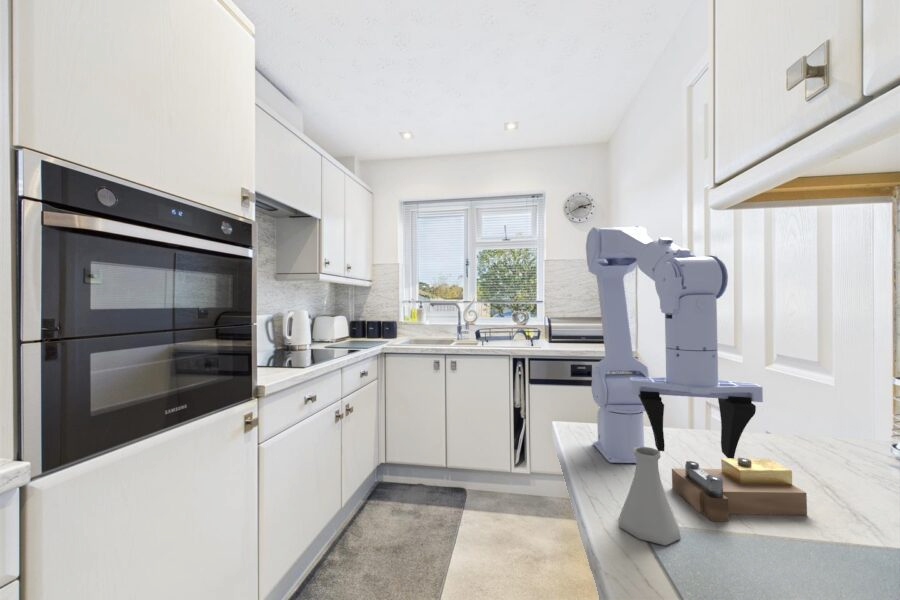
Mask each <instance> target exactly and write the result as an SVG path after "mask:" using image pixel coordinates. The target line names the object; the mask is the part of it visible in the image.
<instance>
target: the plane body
mask: <svg viewBox="0 0 900 600" xmlns="http://www.w3.org/2000/svg"><path fill="white" fill-rule="evenodd" d="M701 469H702V470H703V471H705V472H706V473H708V474H709V475H715V476H719V477H721V478H722V479H723V497H722V498H717V497H713V496H710V495H709V494H707V492H706V491H705V490H704V489H703V488H701V487H700V486H699V485H698V484H696V483H695V482H694V481H693V480H691V479H690V478H688V477H687V476H686V473H685V468H671V487H672V489H673V490H674V491H675V492H676V493H677V494H678V495H679V496H680V497H682V498H683V499H684V500H685V501H686V502H687V503H688V504H689V505H690V506H692V508H694V510H696V511H697V512H698V513H699V514H703V515H704V516H705V517H706V518H707V519H709V520H710V521H711V522H729V521H730V520H729V519H730V517H729V515H735V514H736V515H778V516H779V515H780V516H781V515H782V516H783V515H786V516H787V515H790V516H791V515H792V516H794V515H795V516H798V515H799V516H802V515H803V516H808V503H807V502H808V499H807V498H808V497H807V492H806V491H804V490H802V489H800V488H799V487H797V486H795V485H793V484H792V485H769V484H740V483H738V482H737V481H735V480H734V479H732V478H731V477H729V476H728V475H726V474H725V473H723V472H722V468H701Z"/></svg>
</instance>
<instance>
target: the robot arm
mask: <svg viewBox="0 0 900 600" xmlns="http://www.w3.org/2000/svg"><path fill="white" fill-rule="evenodd" d="M586 236H587V237H586V242H585V253H586V263H587V266H588V272H589V273H590V274H592V275H594V276H596V281H597V282H596V283H597V289H598V297H599V299H598V300H599V309H600V317H601V326H602V335H603V336H602V337H603V345H604V354H605V356H604V357H603V358H602V359H601V360H599V362H597V363H596V364H595V365H593V367H592V370H591V371H592V372H591V375H592V380H591V394H592V398H593V401H594V403H595V404H596V405H597V406H598V407H599V408H598V411H597V416H596V417H597V418H596V419H597V440H596V441H595V440H594V441H593V442H592V444H593V445H594V446H595V447H596V448H597V450H598V451H599V453H601V455H602V456H603V457H604V458H605V459H606V460H607V462H608V463H610V464H611V463H612V464H614V463H615V464H636V456H634V448H635V447H639V446H643V447H645V425H644V423H645V422H644V420H645V419H644V412H646V415H647V418H648V421H649V422H650V425H651V426H650V427H651V429H652V433H653V438H654V444H655V447H656V450H658V451H660V452H665V435H664V412H665V404H664V403H663V399H662V397H661V396H672V397H673V396H675V397H677V396H678V397H689V398H691V397H692V398H693V397H694V398H706V399H707V398H708V399H710V398H711V399H717V400H718V401H717V402H718V408H719V414H720V424H721V427H720V428H721V429H720V447H721V453H722V454H723V455H724V456H725V457H726V458H731V459H734V458H735V454H736V452H737V451H736V450H737V448H738V444H739V441H740V438H741V436H742V434H743V432H744V430H745V428H746V427H747V425H748V424H749V422H750V420H751V419H752V418H753V417H754V416H755V414H756V410H757V406H756V405H755V404H754V403H763V402H764V401H763V400H764V398H763V397H764V396H763V395H764V394H763V393H764V391H763V386H761V385H759V384H757V383H755V382H740V381H730V380H721V379H720V380H719V362H718V361H719V359H718V358H719V355H718V347H719V345H718V310H717V309H718V308H717V304H718V303H717V300H718V299H720V298H721V297H722V296H723V295H724V293H725V292H726V291H727V287H728V282H729V275H728V274H729V273H728V269H727V267H726V264H725V263H724V262H723V261H722V260H721V259H720V258H719V257H718V256H717V255H715V254H714V255H712V254H711V255H705V256H696V255H695V254H693V253H692V251H691V250H690V249H688V248H686V247H685V248H684V247H683V248H681V247H680V246H678V245H676V244H675V243H673V242H674V239H672V238H670V237H659V238H658V239H654V240H653V239H652V238H650V237H649V236H648V234H647V229H646V227H642V226H641V225H635V226H627V227H626V226H623V227H622V226H621V227H618V226H617V227H596V226H594V227H592V228H591V229H590V230H589V231H588V233H587V235H586ZM637 267H638V269H639V270H640V271H641V272H642V273H643V274H644V275H646V276H647V277H649V279H651V280H652V281H654V287H655V290H656V294H657V296H658V298H659V309H660V312H661V313H662V314H664V336H665V338H664V340H665V341H664V342H665V377H664V376H663V377H661V376H659V377H650V373H649V369H648V366H647V365H646V364H644V363H643V362H642V361H640V360H639V359H638V358H636V357H635V356H634V353H633V347H632V337H631V329H630V321H629V313H628V306H627V297H626V290H625V289H626V288H625V281H624V280H625V279H624V278H625V276H626V275H627V274H629V273H632V272H634V271H635V269H636V268H637ZM610 372H613V373H610ZM614 372H619V373H614ZM620 372H627V373H620Z"/></svg>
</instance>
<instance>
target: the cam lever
mask: <svg viewBox="0 0 900 600" xmlns="http://www.w3.org/2000/svg"><path fill="white" fill-rule="evenodd" d="M684 469H685V473H686V476H687V477H688V478H690V479H691V480H693V481H694V482H695V483H696V484H698V485H699V486H700V487H701V488H703V489H704V490H705V491H706V492H707V494H709V495H710V496H713V497H717V498H722V497H723V479H722V478H721V477H719V476H715V475H709V474H708V473H706V472H705V471H703V470H702V469H703V468H700V464H699V463H698V462H696V461H693V460H692V461H691V460H686V461H685V468H684Z"/></svg>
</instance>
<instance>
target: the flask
mask: <svg viewBox="0 0 900 600" xmlns="http://www.w3.org/2000/svg"><path fill="white" fill-rule="evenodd" d="M634 456H636V463H635V470H634V474H633V475H634V476H633V479H632V482H631V485H630V488H629V490H628V493H627V495H626V498H625V499H624V500H625V501H624V503H623V506H622V507H621V511H620V513H619V519H618V520H619V521H618V522H619V523H618V527H619V528H621V529H623V531H625V532H627V533H629V534H631V535H632V536H634V537H635V538H637V539H638V540H642V541H647V542H650V543H654V544H658V545H662V546H667V545H669V544H672V543H674V542H676V541H678V540H680V539H682V538H681V532H680V528H679V523H678V522H677V521H678V520H677V519H676V516H675V514H674V511H673V509H672V506H671V503H670V501H669V499H668V496H667V492H666V491H665V489H664V485H663V483H662V480H661V479H662V478H661V474H660V471H659V460H660V459H661V451H658V449H657V448H653V447H649V446H644V447H643V446H639V447H635V448H634Z"/></svg>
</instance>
